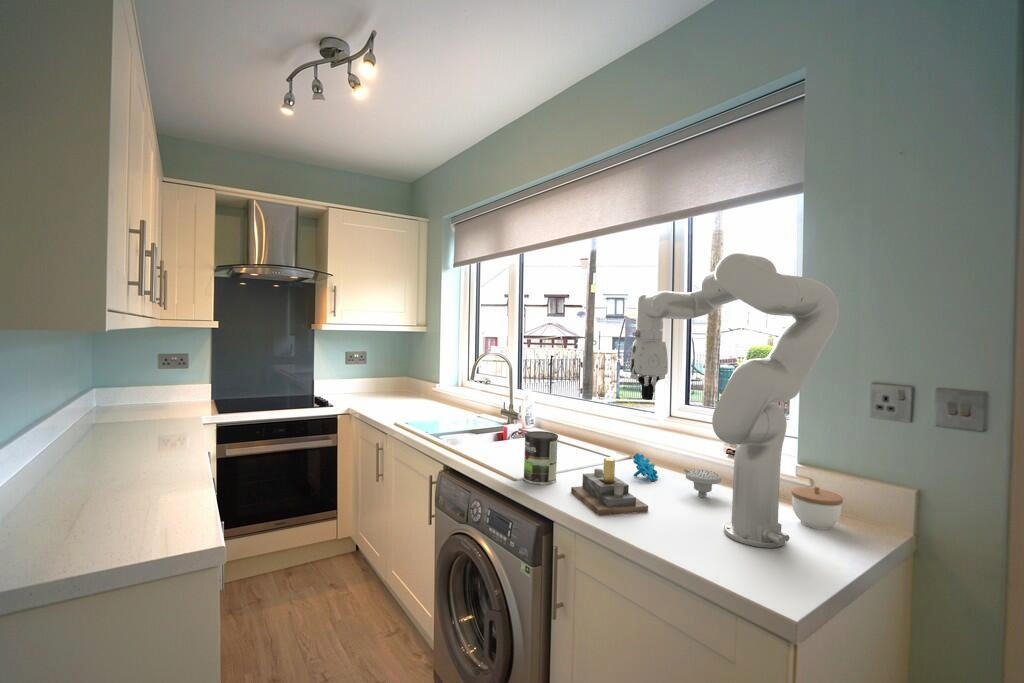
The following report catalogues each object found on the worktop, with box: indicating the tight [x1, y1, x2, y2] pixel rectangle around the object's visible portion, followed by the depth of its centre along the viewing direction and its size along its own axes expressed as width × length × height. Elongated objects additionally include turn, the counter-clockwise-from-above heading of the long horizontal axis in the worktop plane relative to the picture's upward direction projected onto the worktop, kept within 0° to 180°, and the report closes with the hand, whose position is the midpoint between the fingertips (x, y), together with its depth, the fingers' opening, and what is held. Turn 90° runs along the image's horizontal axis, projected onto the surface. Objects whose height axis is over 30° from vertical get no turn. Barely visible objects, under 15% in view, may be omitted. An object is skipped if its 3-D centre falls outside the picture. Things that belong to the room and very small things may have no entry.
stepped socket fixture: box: [570, 468, 649, 516], centre depth 133 cm, size 18×14×7 cm
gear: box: [632, 452, 659, 482], centre depth 157 cm, size 11×6×10 cm
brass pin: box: [602, 457, 616, 484], centre depth 133 cm, size 3×3×10 cm
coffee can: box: [523, 430, 559, 486], centre depth 151 cm, size 10×10×14 cm
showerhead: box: [683, 468, 722, 498], centre depth 140 cm, size 9×7×10 cm
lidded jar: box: [791, 486, 844, 530], centre depth 121 cm, size 11×11×9 cm
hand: (647, 399), depth 142 cm, fingers closed
